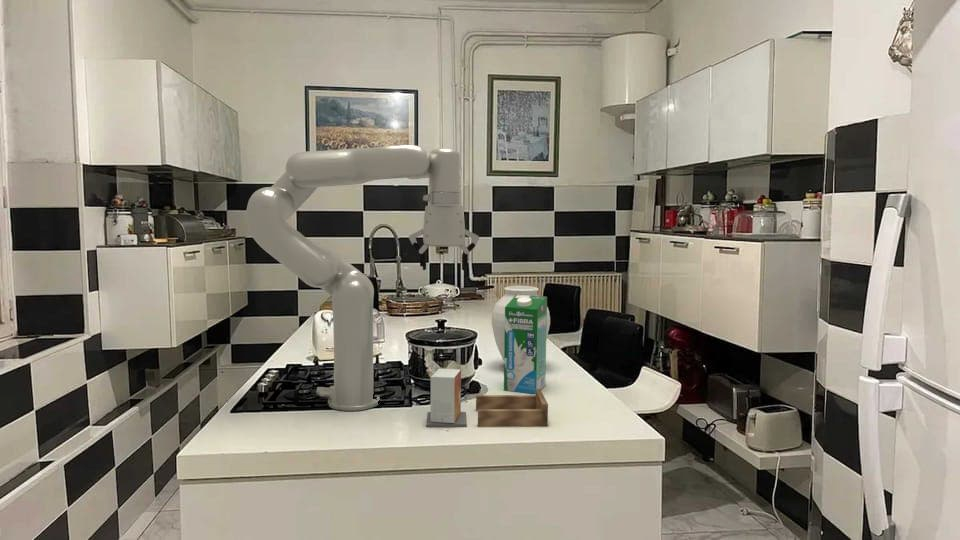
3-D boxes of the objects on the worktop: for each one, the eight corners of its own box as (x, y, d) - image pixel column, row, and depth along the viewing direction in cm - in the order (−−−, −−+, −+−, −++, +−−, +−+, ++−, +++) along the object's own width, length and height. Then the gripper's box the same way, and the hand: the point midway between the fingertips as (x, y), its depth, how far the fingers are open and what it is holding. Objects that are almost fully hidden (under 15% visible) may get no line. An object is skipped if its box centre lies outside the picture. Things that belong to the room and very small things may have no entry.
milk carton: (503, 390, 173) (504, 298, 170) (514, 382, 181) (515, 294, 179) (535, 394, 169) (537, 300, 167) (545, 385, 178) (547, 296, 175)
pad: (426, 427, 143) (426, 424, 143) (427, 414, 152) (427, 411, 152) (466, 426, 143) (466, 424, 143) (465, 414, 152) (465, 411, 152)
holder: (477, 426, 143) (478, 404, 143) (475, 409, 156) (476, 389, 155) (547, 426, 144) (547, 404, 144) (540, 409, 156) (540, 389, 156)
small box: (454, 424, 143) (454, 377, 142) (429, 422, 144) (430, 376, 143) (461, 413, 151) (461, 369, 150) (438, 411, 152) (438, 367, 151)
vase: (559, 366, 200) (560, 286, 198) (532, 378, 185) (533, 292, 183) (509, 359, 209) (510, 282, 207) (480, 370, 194) (480, 288, 192)
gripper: (407, 199, 154) (407, 270, 155) (480, 200, 154) (479, 271, 156) (409, 200, 161) (409, 268, 163) (478, 200, 162) (478, 268, 163)
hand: (443, 269), depth 159 cm, fingers open, 9 cm apart
